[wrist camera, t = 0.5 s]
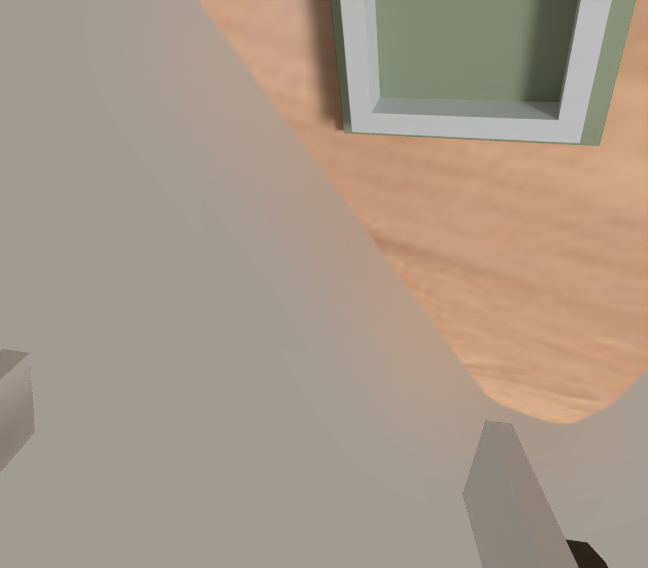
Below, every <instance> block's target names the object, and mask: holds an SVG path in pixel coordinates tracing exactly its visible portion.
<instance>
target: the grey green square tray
mask: <svg viewBox="0 0 648 568" xmlns="http://www.w3.org/2000/svg"><path fill="white" fill-rule="evenodd" d="M635 2H636V0H331V8H332V18H333V28H334V38H335V48H336V58H337V68H338V78H339V88H340V98H341V108H342V118H343V128H344V133H350V134H370V135H390V136H410V137H430V138H450V139H470V140H490V141H510V142H530V143H550V144H570V145H590V146H599V145H600V141H601V137H602V133H603V129H604V125H605V121H606V117H607V113H608V109H609V105H610V101H611V97H612V93H613V89H614V85H615V81H616V77H617V74H618V70H619V66H620V62H621V58H622V54H623V50H624V46H625V42H626V38H627V34H628V30H629V26H630V22H631V18H632V14H633V10H634V6H635Z"/></svg>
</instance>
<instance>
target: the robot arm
mask: <svg viewBox="0 0 648 568" xmlns="http://www.w3.org/2000/svg"><path fill="white" fill-rule="evenodd" d="M34 432H35V428H34V411H33V396H32V380H31V365H30V353H26V352H19V351H13V350H5V349H2V350H1V351H0V473H1V471H2V470H3V469H4V468H5V467H6V466H7V465H8V463H9V462H10V461H11V460H12V459H13V457H14V456H15V455H16V454H17V453H18V452H19V450H20V449H21V448H22V447H23V446H24V445H25V443H26V442H27V441H28V440H29V439H30V438H31V436H32V435H33V434H34ZM463 497H464V501H465V504H466V508H467V512H468V515H469V519H470V523H471V527H472V530H473V533H474V538H475V541H476V544H477V548H478V552H479V556H480V560H481V563H482V567H483V568H608V566H607V565H606V563H605V561H604V560H603V559H602V558H601V557H600V556H599V555H598V554H597V553H596V552H595V551H594V550H593V548H592V547H591V546H590V545H589V544H588V543H587V542H580V541H573V540H566V539H565V537H564V535H563V533H562V531H561V529H560V526H559V524H558V522H557V520H556V518H555V516H554V514H553V511H552V509H551V507H550V505H549V503H548V501H547V498H546V496H545V494H544V492H543V490H542V488H541V486H540V483H539V481H538V479H537V477H536V475H535V473H534V471H533V468H532V466H531V464H530V462H529V460H528V458H527V455H526V453H525V451H524V449H523V447H522V445H521V443H520V440H519V438H518V436H517V434H516V432H515V430H514V427H513V425H512V424H509V423H502V422H495V421H488V420H486V421H485V424H484V427H483V431H482V434H481V437H480V440H479V443H478V447H477V450H476V453H475V456H474V459H473V463H472V466H471V469H470V472H469V475H468V479H467V482H466V485H465V489H464V492H463Z"/></svg>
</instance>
